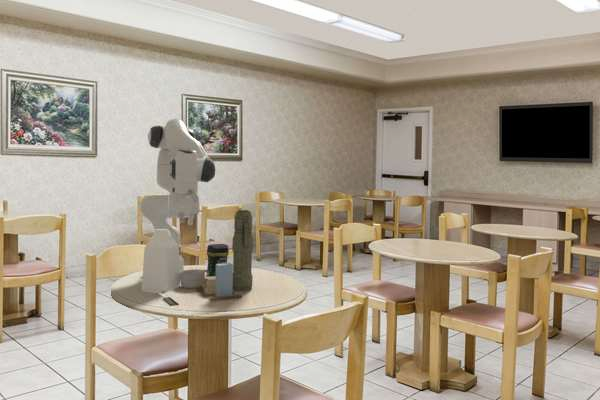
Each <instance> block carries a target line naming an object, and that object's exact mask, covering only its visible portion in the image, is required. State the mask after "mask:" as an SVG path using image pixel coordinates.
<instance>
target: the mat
mask: <svg viewBox="0 0 600 400" xmlns="http://www.w3.org/2000/svg"><path fill="white" fill-rule="evenodd" d="M162 299H163V301H164V302H166V303H167V304H169V305H170V306H177V305H178V306H179V305H180V304H179V303H178V302H177V301H176V300H174V299H173V298H171V297H170V296H169V297H163V298H162Z"/></svg>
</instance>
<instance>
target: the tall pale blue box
mask: <svg viewBox="0 0 600 400" xmlns="http://www.w3.org/2000/svg"><path fill="white" fill-rule="evenodd" d="M233 291H234V290H233V263H230V262H227V263H224V264H216V280H215V296H216V297H225V296H232V293H233Z"/></svg>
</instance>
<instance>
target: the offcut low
mask: <svg viewBox="0 0 600 400" xmlns="http://www.w3.org/2000/svg"><path fill="white" fill-rule="evenodd" d="M202 288H203V292H204V293H206V294H214V293H215V286H212V287H208V286H206V285H204V284H203V287H202Z"/></svg>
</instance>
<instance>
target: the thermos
mask: <svg viewBox="0 0 600 400" xmlns="http://www.w3.org/2000/svg"><path fill="white" fill-rule="evenodd" d="M233 223H234V225H233V226H234V228H233V229H234V232H233V237H232V253H233V255H232V256H233V259H232V260H233V262H232V264H233V290H232V291H237V292H238V291H239V292H248V291H251V290H252V288H253V274H252V263H253V262H252V260H253V258H252V257H253V251H254V237H253V230H252V229H253V216H252V213H251V211H250V210H246V209H238V210H237V211H235V215H234V222H233Z"/></svg>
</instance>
